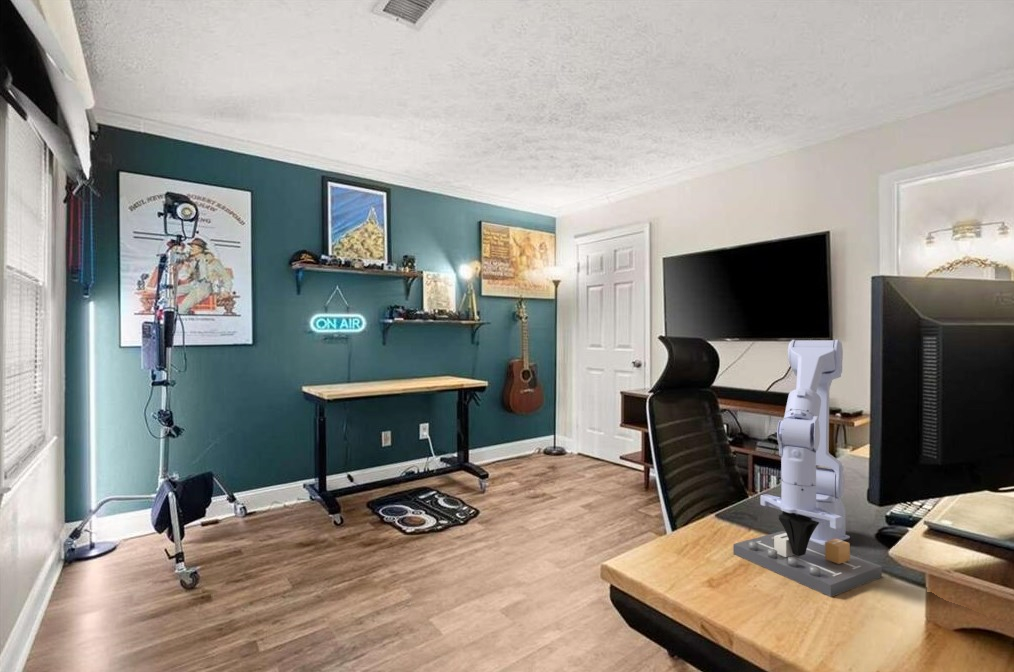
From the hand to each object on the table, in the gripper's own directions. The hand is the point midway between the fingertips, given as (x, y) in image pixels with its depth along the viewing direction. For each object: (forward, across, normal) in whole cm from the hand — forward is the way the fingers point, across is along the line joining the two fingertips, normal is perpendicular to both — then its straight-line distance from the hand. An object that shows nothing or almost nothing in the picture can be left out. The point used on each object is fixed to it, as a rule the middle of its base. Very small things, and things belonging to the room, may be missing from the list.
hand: (798, 554), depth 92 cm
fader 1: (+1, -3, 0) cm, 3 cm away
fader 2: (+1, +4, +6) cm, 7 cm away
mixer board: (+3, -1, +3) cm, 4 cm away
